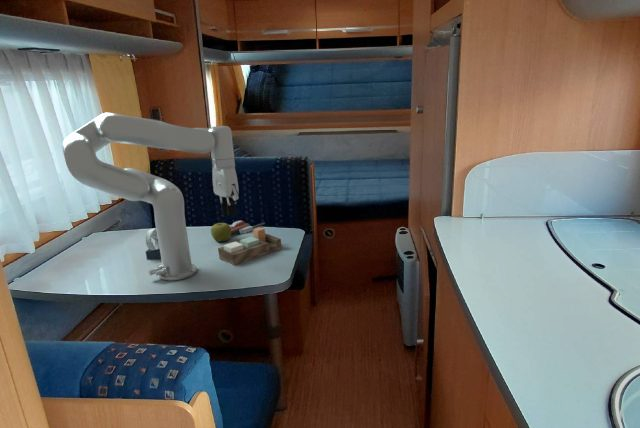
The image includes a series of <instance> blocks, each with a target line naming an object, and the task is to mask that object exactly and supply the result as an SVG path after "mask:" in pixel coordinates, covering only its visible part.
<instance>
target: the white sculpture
mask: <svg viewBox="0 0 640 428" xmlns="http://www.w3.org/2000/svg"><path fill="white" fill-rule="evenodd" d="M152 239H153V241H154V244H153V241H152ZM145 245H146V247H147V248H148V249H147V250H146V251H145V255H146V260H161V254H160V248H159V242H158V236H157V231H156V228H151V229H147V232H146V234H145Z"/></svg>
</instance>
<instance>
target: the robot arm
mask: <svg viewBox="0 0 640 428" xmlns="http://www.w3.org/2000/svg"><path fill="white" fill-rule="evenodd" d="M232 135H233V134H232V129H231V127H229V126H227V125H219V126H217V125H216V126H212V127H186V126H181V125H175V124H170V123H167V122H165V121H161V120H157V119H152V118H144V117H137V116H130V115H125V114H118V113H115V112H104V113H101V114H100V115H98V116H97V117H95V118H93V119H92V120H91V121H89V122H87V123H86V124H84V125H82V126H81V127H80V128H78V129H76V130H75V131H73V132H72V133H70V134H68V136H66V137H65V138H64V139H63V142H62V145H61V146H62V147H61V148H62V153H63V156H64V161H65V165H66V168H67V169H68V171H69V173H70V174H71V176H72V177H73V178H74V179H75V181H78V182H79V183H80V184H83V185H85V186H86V187H89V188H92V189H95V190H98V191H102V192H103V193H106V194H110V195H113V196H115V197H119V198H120V199H121V198H122V199H123V200H126V201H129V202H138V201H142V202H146V203H147V204H151V205H152V207H153V213H154V215H153V216H154V223H155V229H156V231H157V236H158V242H159V248H160V254H161V259H160V261H161V262H159V263H158V264H159V265H158V266H156V267H154V268H151V269H148V270H147V272H148V275H149V276H153V275H155V276H156V277H157V276H158V277H159V278H160V279H161V280H164V281H179V280H184V279H187V278H190V277H192V276H193V275H195V274H196V273H197V272H198V267H197V265H196V264H194V263H192V257H191V252H190V245H189V244H190V242H189V238H188V237H189V236H188V229H187V225H186V224H187V223H186V217H185V216H186V215H185V199H184V196H183V193H182V191H181V190H180V188H179V187H178V186H176V185H175V184H174V183H172V182H171V181H169V180H167V179H165V178H162V177H161V176H156V175H154V174H150V173H148V172H145V171H142V170H140V169H137V168H134V167H133V168H132V167H126V168H125V167H124V168H121V167H118V166H116V165H113V164H110V163H107V162H104V161H102V160H100V159H99V157H98V156H97V152H98V151H100V150H101V149H102V148H104V147H106V146H107V145H109V144H110V143H118V144H125V145H134V146H141V147H147V148H155V149H162V150H163V149H164V150H172V151H180V152H187V153H193V154H201V155H202V154H208V153H210V154H211V164H212V174H211V175H212V187H213V193H214V194H215V195H216V196H218V198H219V202H220V207H221V212H222V215H226V214H227V216H228V217H232V216H236V215H237V214H238V213H237V205H236V204H237V200H239V198H240V197H239V194H240V193H239V182H238V175H237V172H236V163H235V154H234V144H233V136H232Z"/></svg>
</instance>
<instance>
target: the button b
mask: <svg viewBox="0 0 640 428" xmlns="http://www.w3.org/2000/svg"><path fill="white" fill-rule="evenodd" d="M239 242H240V243H241V244H242V245H243V246H245V247H251V246H254V245H257V244H259V239H256V238H254V236H248V237H246V238H241V239H240V241H239Z"/></svg>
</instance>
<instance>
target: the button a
mask: <svg viewBox="0 0 640 428" xmlns="http://www.w3.org/2000/svg"><path fill="white" fill-rule="evenodd" d="M238 242H239V241H238ZM238 242H237V241H232V242H230V243H226V244H223V247H224V250H226V251H228V252H230V253H232V252H235V251H239V250H242V249H243V245H242V244H240V243H238Z"/></svg>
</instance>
